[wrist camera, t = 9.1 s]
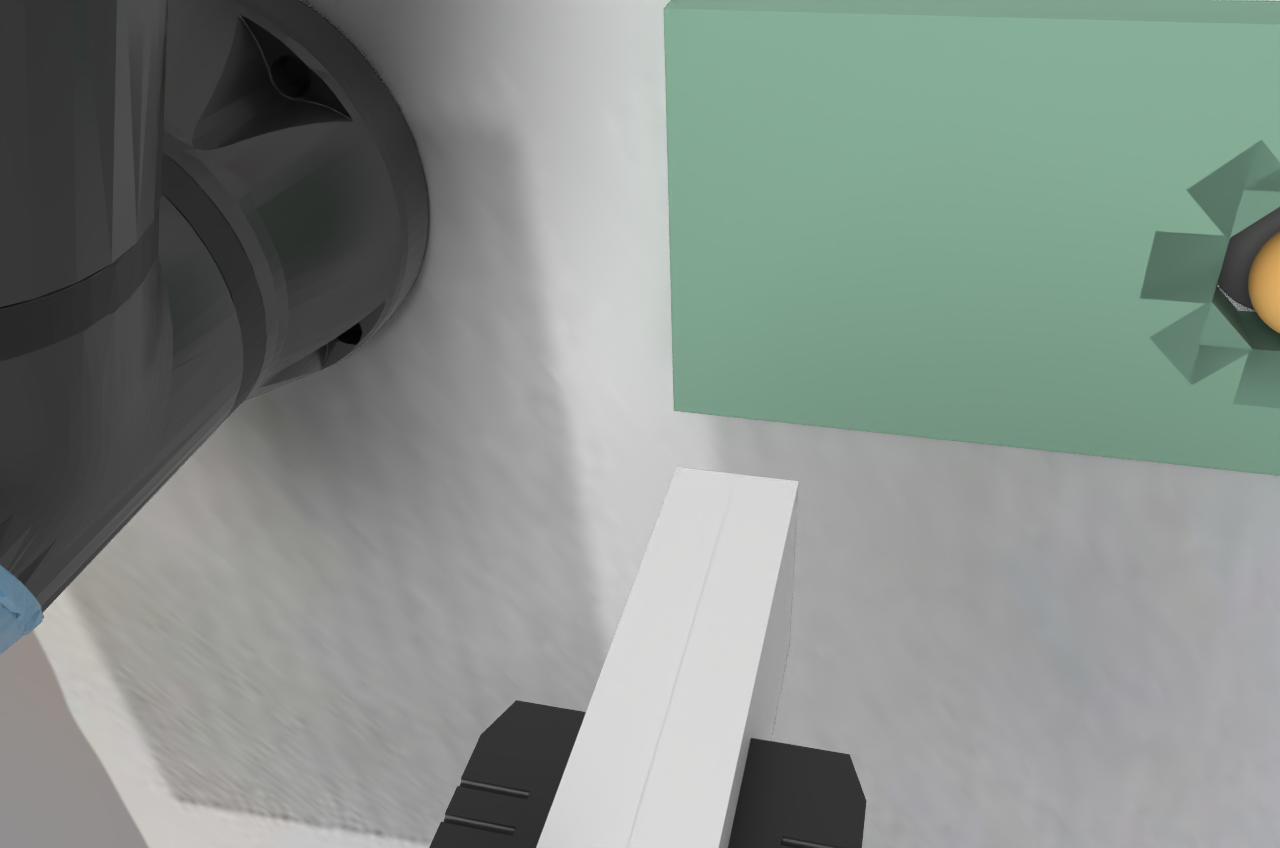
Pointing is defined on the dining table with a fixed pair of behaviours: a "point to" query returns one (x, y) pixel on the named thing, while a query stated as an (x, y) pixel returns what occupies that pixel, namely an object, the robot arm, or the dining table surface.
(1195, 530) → the dining table surface
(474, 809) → the robot arm
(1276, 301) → the ball
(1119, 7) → the mini golf green
